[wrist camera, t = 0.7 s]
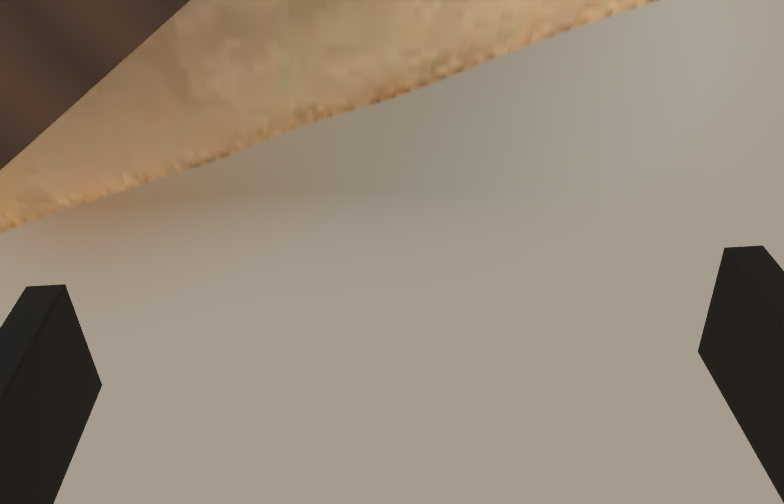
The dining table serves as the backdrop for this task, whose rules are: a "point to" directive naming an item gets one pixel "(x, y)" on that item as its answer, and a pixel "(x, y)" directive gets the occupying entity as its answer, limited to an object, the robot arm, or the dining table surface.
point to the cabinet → (63, 56)
